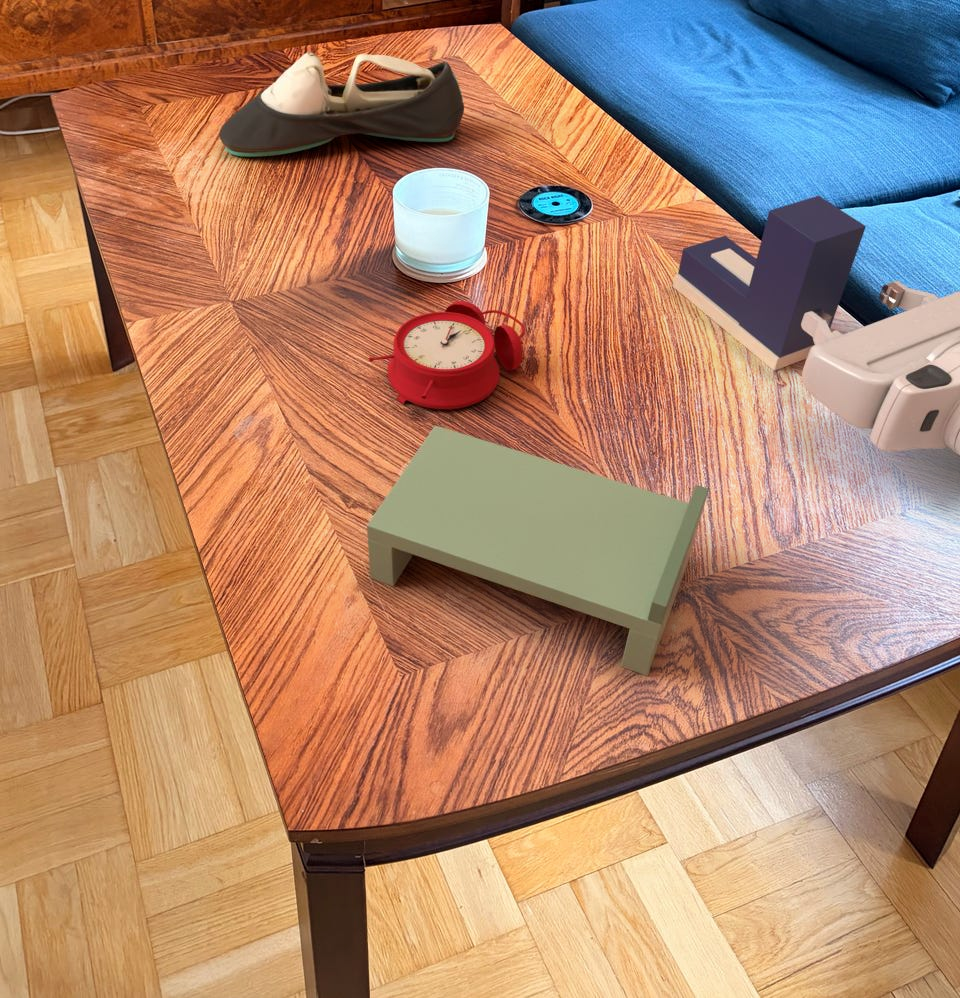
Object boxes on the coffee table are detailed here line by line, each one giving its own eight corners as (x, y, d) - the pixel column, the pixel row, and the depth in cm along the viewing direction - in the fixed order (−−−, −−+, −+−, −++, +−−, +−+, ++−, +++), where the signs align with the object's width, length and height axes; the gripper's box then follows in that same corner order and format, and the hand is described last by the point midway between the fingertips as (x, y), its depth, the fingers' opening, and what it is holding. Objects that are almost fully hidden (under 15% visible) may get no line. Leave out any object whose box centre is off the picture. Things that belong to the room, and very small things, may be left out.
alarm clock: (353, 347, 90) (468, 255, 95) (368, 393, 95) (476, 303, 101) (433, 402, 85) (549, 302, 91) (444, 447, 91) (554, 350, 96)
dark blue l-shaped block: (823, 352, 98) (868, 225, 88) (774, 371, 96) (814, 243, 86) (719, 271, 108) (749, 148, 98) (672, 286, 106) (697, 162, 96)
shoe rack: (689, 559, 79) (709, 488, 73) (647, 676, 71) (666, 606, 65) (434, 478, 84) (435, 405, 79) (369, 578, 76) (365, 506, 71)
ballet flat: (217, 130, 127) (203, 46, 119) (450, 109, 133) (451, 28, 126) (225, 169, 120) (211, 82, 112) (470, 145, 126) (472, 62, 119)
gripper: (1070, 324, 83) (942, 243, 91) (893, 398, 75) (771, 302, 84) (1037, 383, 87) (918, 301, 96) (867, 458, 80) (753, 362, 88)
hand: (848, 302), depth 90 cm, fingers open, 8 cm apart
